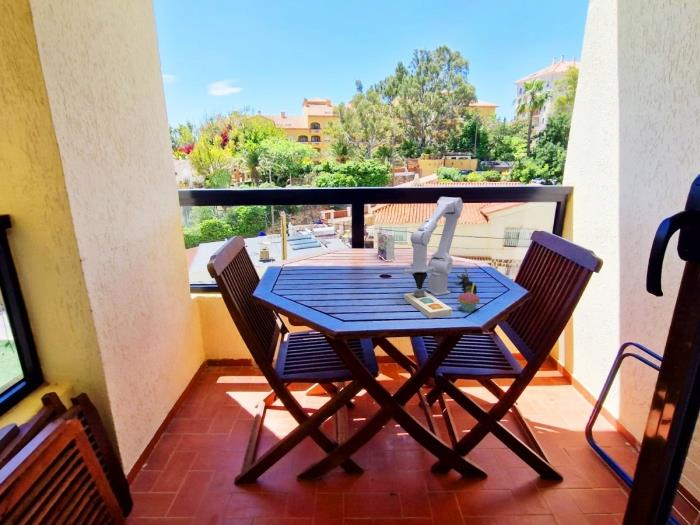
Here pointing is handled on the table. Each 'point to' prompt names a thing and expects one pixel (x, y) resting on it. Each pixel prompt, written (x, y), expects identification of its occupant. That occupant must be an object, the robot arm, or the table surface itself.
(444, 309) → the button panel
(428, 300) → the teal button
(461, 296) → the cupcake
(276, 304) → the table surface
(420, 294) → the grey button
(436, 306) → the orange button
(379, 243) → the candy box
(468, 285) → the artificial flower
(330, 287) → the table surface
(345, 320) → the table surface
